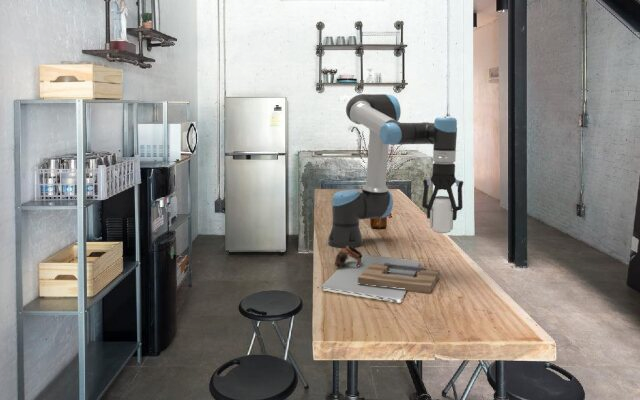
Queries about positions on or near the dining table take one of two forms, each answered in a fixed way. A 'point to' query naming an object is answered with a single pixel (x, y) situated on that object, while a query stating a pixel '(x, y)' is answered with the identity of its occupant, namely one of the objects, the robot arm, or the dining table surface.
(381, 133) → the robot arm
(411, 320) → the dining table surface
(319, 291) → the dining table surface
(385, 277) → the wooden frame board
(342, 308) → the dining table surface
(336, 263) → the pottery mug
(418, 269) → the cross rail
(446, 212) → the can
